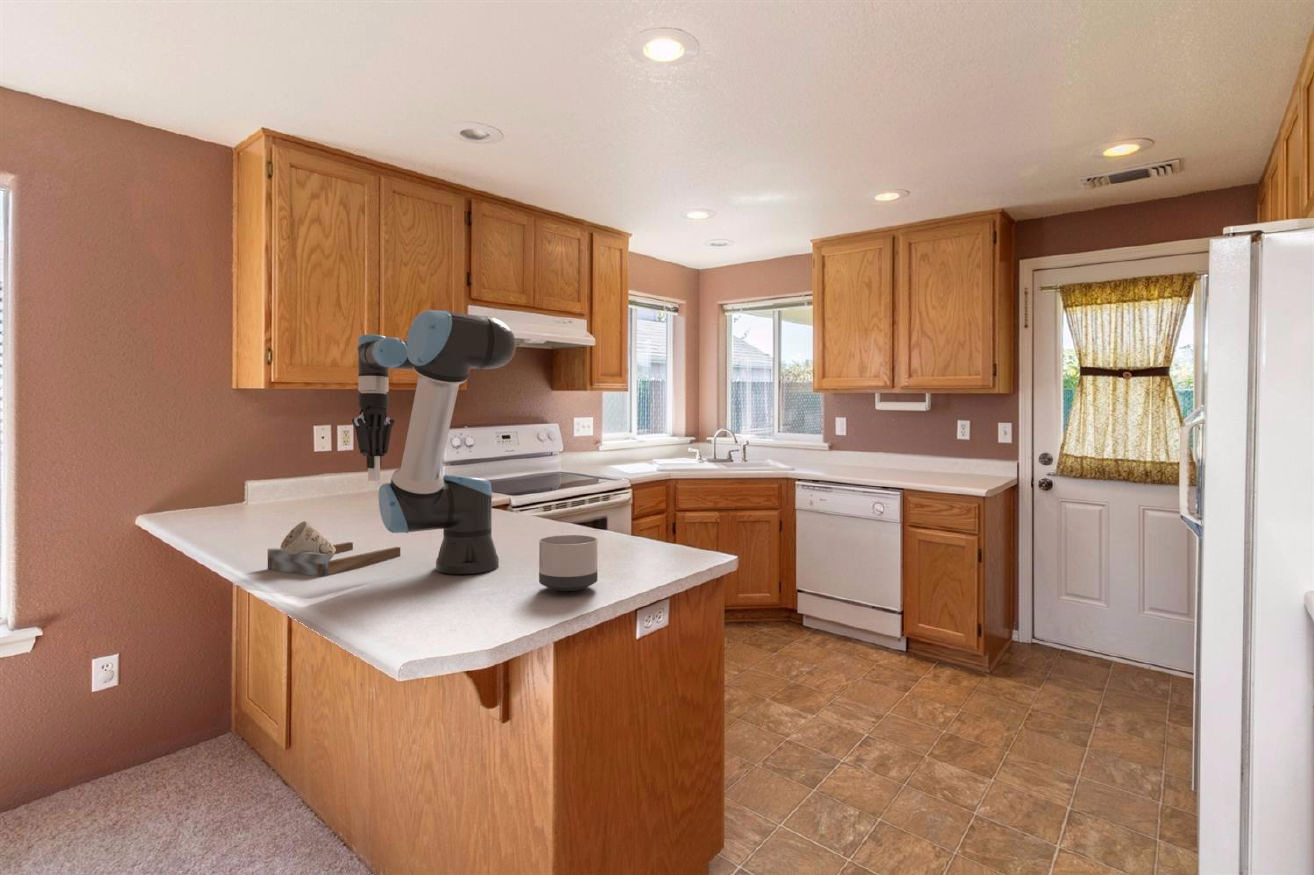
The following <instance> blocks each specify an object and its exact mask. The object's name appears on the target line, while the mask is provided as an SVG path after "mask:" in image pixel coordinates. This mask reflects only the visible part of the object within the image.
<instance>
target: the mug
mask: <svg viewBox="0 0 1314 875" xmlns="http://www.w3.org/2000/svg"><path fill="white" fill-rule="evenodd" d="M333 545H334V544H332V543H330V541H329V540H327V538H325V537H324V536H323V535H322V534H321V533H320V532H318V531H317V529H316V528H315V527H313V526H312V525H311V524H310V523H309V522H307V521H305V520H304V521H301V522H300V523H298V524H297V525H296V526H294V527H293V528H292V529H291V530H290V531H289V532H288V533H287V535H286V536H285V537H284V538H283V540H282V542H281V544H280V547H279V549H281V550H283V551H284V552H287V553H289V554H291V555H295V554H297V553H298V552H314V553H323V554H328V561H331V560H332V558H333V557H334V555H335V554H334V553H335V551H336V549H335V547H334V546H333Z"/></svg>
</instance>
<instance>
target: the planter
mask: <svg viewBox="0 0 1314 875" xmlns="http://www.w3.org/2000/svg"><path fill="white" fill-rule="evenodd" d="M598 544H599V543H598V538H597V537H595V536H591V535H584V534H583V535H581V534H563V535H561V534H560V535H550V536H545V537H541V538H540V539H539V540H538V548H539V549H538V582H539V584H540V585H542V586H544V587H546V588H549V589H551V590H553V591H558V592H574V591H582V590H583V589H586V588H589V587H590V586H592V585H594V584H596V583H598V582H597V581H598V570H599V569H598V564H599V563H598V562H599V560H598V556H599V555H598V554H599V553H598V549H599V548H598V547H599V546H598Z"/></svg>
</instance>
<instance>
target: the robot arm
mask: <svg viewBox="0 0 1314 875" xmlns="http://www.w3.org/2000/svg"><path fill="white" fill-rule="evenodd" d="M516 350H517V342H516V337H515V334H514V333H513V331H512V330H511V328H510V327H509V326H508V325H507V324H506V323H504V322H503V321H501V320H500V319H497V318H494V317H491V316H487V315H476V314H468V313H459V312H453V311H448V310H443V309H441V310H433V309H429V310H423V311H421V312H420V313H419V314H417V315H416V316H415V318H414V319H413V321H412V322H411V324H410V326H409V330H408V333H407V337H406V340H403V339H399V337H398V338H397V337H395V336H392V337H391V336H390V337H388V336H385V335H381V334H361V335H360V336H359V337H358V342H357V372H358V374H357V375H358V376H357V377H358V378H357V380H358V382H357V384H358V386H357V387H358V390H357V391H358V392H360V393H358V404H357V405H358V407H359V408H360V410H359V413H358V414H359V415H358V416H357V417H355V418H354V417H353V418H352V420H351V422H352V424H353V425H354V428H355V433H356V439H357V443H358V448H359V453H360V454H361V455H363V457H366V468H367V480H368V481H370V482H371V481H373V482H374V481H375V482H376V481H379V482H380V481H381V468H382V457H384V456H385V455H386V454H388V451H389V445H390V440H391V433H392V428H393V426H394V423H395V420H394V419H393V418H389V417H388V412H387V408H389V407H390V406H389V404H390V402H389V398H390V397H389V394H388V392H389V391H390V388H389V387H390V386H389V383H390V381H389V369H392V370H393V369H395V370H396V369H398V370H410V371H411V370H412V371H414V372H415V373H416V374H417V376H418V378H417V383H416V389H415V393H414V399H413V403H412V408H411V412H410V413H411V415H410V419H409V424H408V429H407V434H406V439H405V445H404V449H403V450H404V451H403V455H402V460H401V466H400V468H397V469H396V470H395V471H394V472H393V473H392V475H391V481H390V483H389V482H385V483H383V484H381V485H380V486H379V490H378V507H379V512H380V517H381V520H382V523H383V525H384V527H385V529H386V530H387V531H389V532H390V533H392V534H399V533H401V534H403V533H405V534H409V533H415V532H423V531H424V532H425V531H432V530H433V531H435V530H443V534H442V535H443V536H442V538H443V539H442V542H441V544H440V547H439V551H438V554H437V555H438V556H437V557H436V561H435V571H437V572H438V573H441V574H447V575H448V574H449V575H470V574H480V573H487V572H490V571H491V572H492V571H494V570H496V569H498V568H499V563H500V562H499V560H500V558H499V555H498V553H497V550H496V547H495V543H494V540H493V537H492V530H493V529H492V526H493V525H492V524H493V522H492V519H493V518H492V516H493V513H492V511H493V508H492V507H493V505H492V504H493V500H492V498H493V491H492V483H491V481H490V480H488V479H487V478H484V477H473V476H464V475H453V474H444V475H443V476H442V475H440V473H441V469H442V464H443V460H444V454H445V451H446V446H447V442H448V436H449V432H450V428H451V423H452V419H453V414H454V410H455V405H456V402H457V401H456V400H457V397H458V396H457V395H458V391H459V388H460V387H459V386H460V385H462V384H464V383H465V382H467V381H468V379H469V375H470V370H472V369H475V370H491V369H492V370H494V369H498V368H502V367H504V366H506V365H507V364H508V363H510V361H512V359H513V358H514V356H515V354H516Z"/></svg>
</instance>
